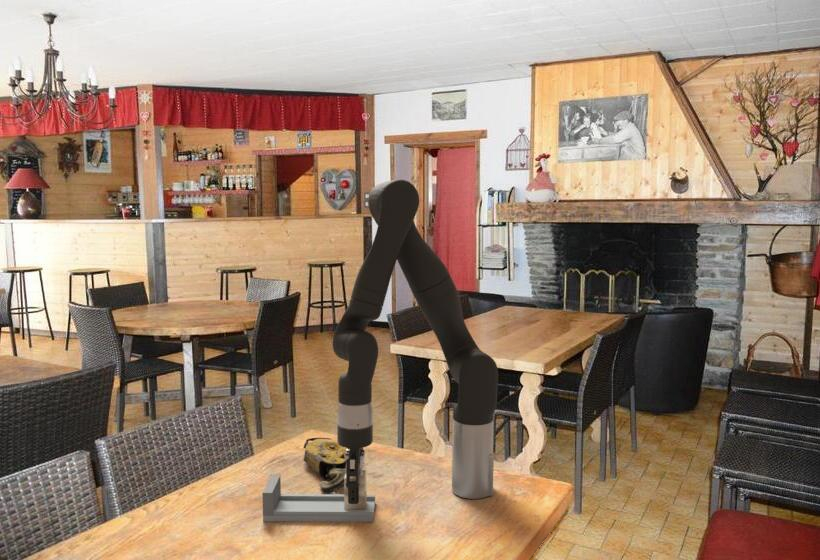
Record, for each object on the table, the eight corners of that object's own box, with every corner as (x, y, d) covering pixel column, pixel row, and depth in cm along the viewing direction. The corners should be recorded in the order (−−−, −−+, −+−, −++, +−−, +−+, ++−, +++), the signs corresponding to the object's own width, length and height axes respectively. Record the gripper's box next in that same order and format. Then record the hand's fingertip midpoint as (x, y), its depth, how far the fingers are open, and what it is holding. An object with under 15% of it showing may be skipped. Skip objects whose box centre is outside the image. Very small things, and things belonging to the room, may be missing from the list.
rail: (375, 502, 151) (375, 476, 150) (372, 521, 142) (372, 493, 142) (271, 501, 151) (271, 475, 151) (263, 521, 142) (262, 492, 142)
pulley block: (305, 472, 152) (304, 428, 181) (301, 497, 152) (301, 448, 182) (367, 478, 154) (357, 433, 184) (363, 502, 155) (353, 454, 184)
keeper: (366, 500, 149) (366, 470, 148) (365, 510, 144) (364, 478, 144) (346, 500, 149) (346, 470, 148) (344, 509, 144) (344, 478, 144)
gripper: (370, 433, 137) (370, 509, 139) (374, 411, 151) (374, 480, 153) (333, 433, 137) (334, 509, 139) (341, 410, 151) (341, 480, 153)
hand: (355, 494), depth 146 cm, fingers open, 8 cm apart
